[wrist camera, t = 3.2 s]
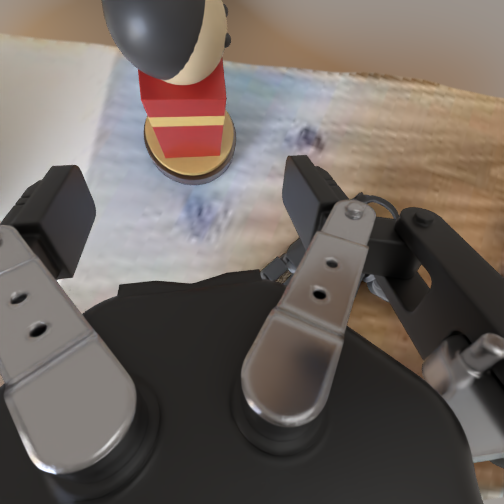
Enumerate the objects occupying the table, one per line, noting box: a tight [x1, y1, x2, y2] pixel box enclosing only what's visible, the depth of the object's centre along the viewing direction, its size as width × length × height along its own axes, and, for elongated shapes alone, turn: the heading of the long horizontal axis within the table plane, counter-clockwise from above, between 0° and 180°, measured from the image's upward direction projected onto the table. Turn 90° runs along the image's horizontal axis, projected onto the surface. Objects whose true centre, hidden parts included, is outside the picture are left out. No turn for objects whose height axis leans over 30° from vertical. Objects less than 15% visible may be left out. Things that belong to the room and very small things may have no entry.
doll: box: [102, 0, 234, 175], centre depth 17 cm, size 7×7×14 cm
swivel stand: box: [144, 117, 236, 185], centre depth 25 cm, size 8×8×2 cm
